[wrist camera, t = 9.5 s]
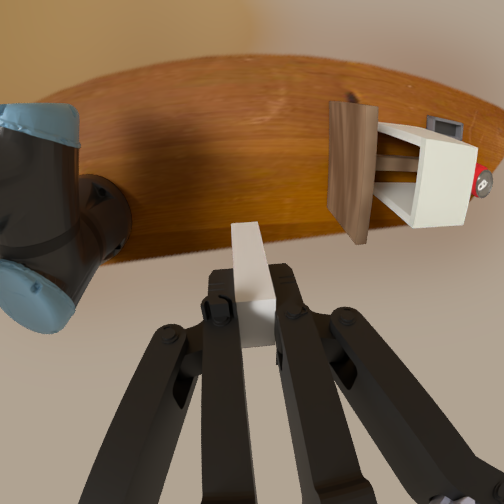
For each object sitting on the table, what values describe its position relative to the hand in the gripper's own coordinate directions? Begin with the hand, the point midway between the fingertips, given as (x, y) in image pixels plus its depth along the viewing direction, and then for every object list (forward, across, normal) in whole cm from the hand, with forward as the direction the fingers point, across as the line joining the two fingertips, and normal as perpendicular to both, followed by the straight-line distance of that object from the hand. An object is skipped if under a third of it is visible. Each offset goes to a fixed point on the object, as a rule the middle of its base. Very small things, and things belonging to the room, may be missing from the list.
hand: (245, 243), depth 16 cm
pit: (+26, +37, +6) cm, 45 cm away
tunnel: (+26, +26, -1) cm, 37 cm away
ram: (+25, +24, -1) cm, 35 cm away
